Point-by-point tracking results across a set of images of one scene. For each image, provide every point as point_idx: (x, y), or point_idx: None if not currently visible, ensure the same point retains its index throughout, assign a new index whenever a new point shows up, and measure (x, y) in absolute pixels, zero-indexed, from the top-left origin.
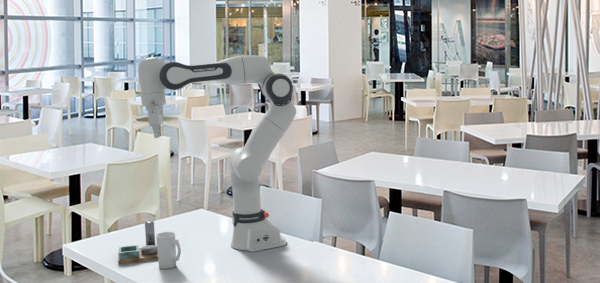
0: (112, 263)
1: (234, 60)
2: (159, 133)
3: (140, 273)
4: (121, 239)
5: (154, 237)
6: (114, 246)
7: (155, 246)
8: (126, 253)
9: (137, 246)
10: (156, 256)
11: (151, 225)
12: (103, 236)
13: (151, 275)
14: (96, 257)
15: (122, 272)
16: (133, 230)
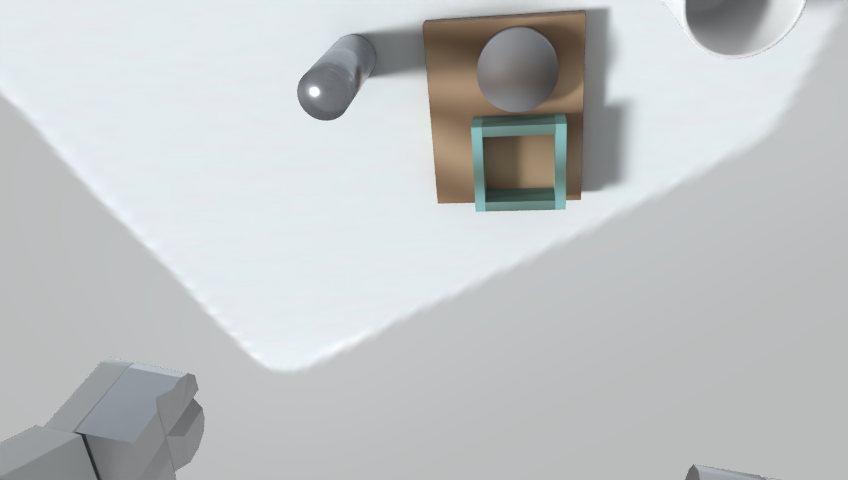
0: (553, 214)
1: None
2: (158, 438)
3: (738, 98)
4: (233, 191)
5: (351, 46)
6: (327, 216)
7: (507, 40)
8: (565, 175)
9: (497, 130)
10: (584, 29)
11: (349, 78)
12: (180, 263)
13: (792, 47)
14: (454, 275)
15: (686, 172)
16: (100, 144)
